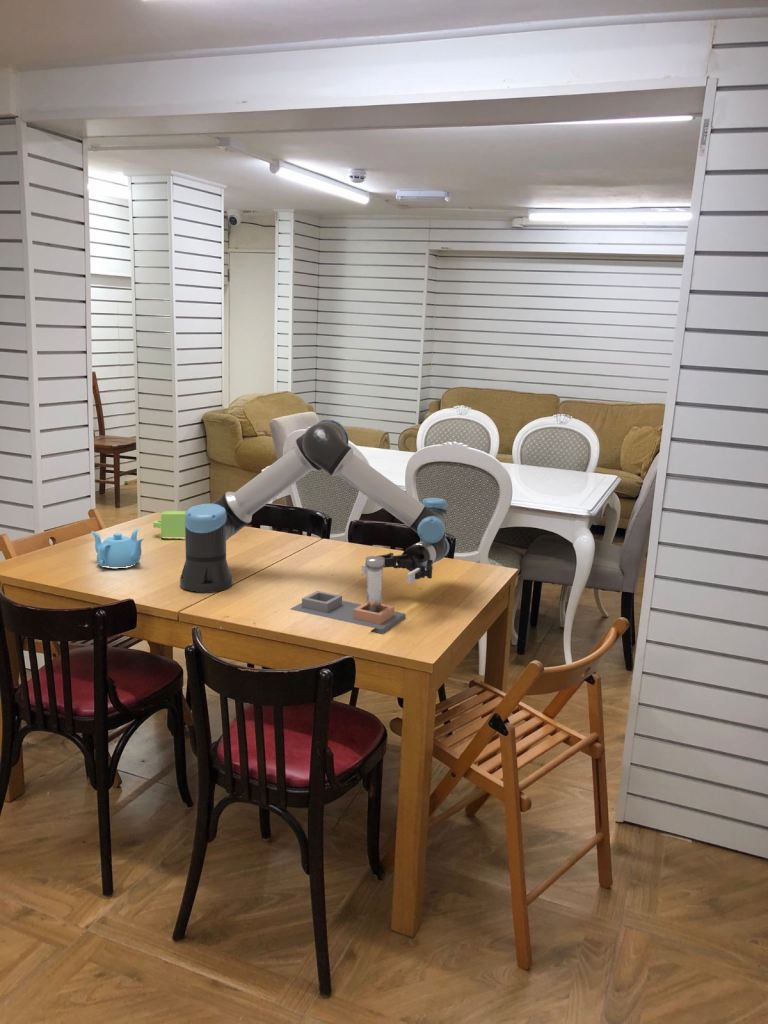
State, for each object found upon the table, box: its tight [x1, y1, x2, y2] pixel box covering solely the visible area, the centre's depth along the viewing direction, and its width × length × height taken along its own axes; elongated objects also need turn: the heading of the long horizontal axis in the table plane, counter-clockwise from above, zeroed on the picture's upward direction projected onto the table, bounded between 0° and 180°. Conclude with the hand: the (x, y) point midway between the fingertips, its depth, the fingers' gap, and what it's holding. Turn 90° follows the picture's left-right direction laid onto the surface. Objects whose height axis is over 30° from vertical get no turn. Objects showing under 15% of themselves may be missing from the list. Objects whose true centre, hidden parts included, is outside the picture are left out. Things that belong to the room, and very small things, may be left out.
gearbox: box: [153, 510, 187, 538], centre depth 284 cm, size 18×10×10 cm, turn 102°
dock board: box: [290, 590, 406, 635], centre depth 210 cm, size 28×14×4 cm, turn 63°
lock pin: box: [365, 555, 385, 613], centre depth 205 cm, size 5×5×16 cm
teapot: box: [90, 528, 144, 567], centre depth 246 cm, size 15×15×10 cm
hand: (385, 574), depth 208 cm, fingers open, 13 cm apart
